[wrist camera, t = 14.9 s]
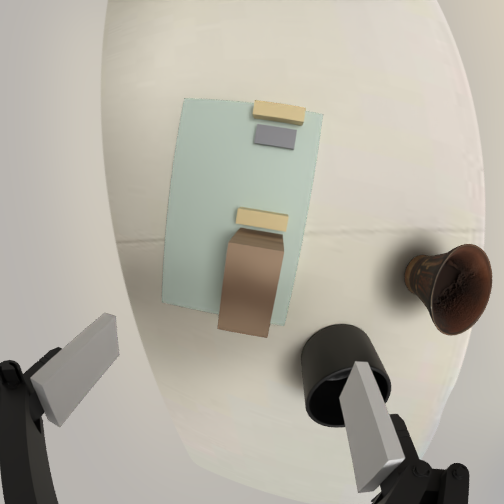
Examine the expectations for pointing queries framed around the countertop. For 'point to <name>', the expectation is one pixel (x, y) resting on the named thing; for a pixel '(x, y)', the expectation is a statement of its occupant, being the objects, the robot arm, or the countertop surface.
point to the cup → (452, 286)
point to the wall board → (236, 193)
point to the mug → (336, 370)
